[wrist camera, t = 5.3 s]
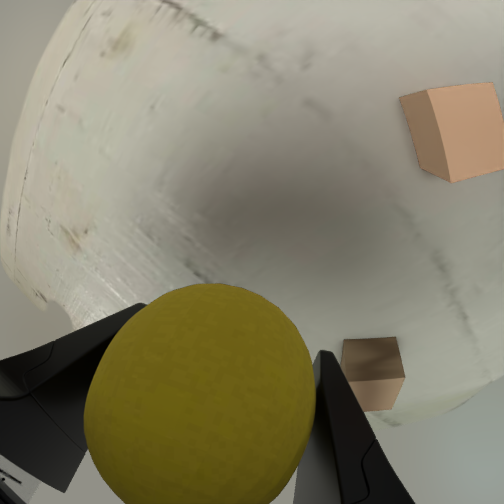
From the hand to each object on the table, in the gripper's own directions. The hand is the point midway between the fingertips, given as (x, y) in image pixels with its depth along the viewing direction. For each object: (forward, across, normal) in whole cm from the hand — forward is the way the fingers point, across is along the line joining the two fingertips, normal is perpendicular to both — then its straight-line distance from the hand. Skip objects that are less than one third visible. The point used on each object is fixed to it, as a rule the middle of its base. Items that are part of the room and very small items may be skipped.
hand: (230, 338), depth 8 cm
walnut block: (+12, -11, +12) cm, 20 cm away
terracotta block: (+13, -10, -9) cm, 18 cm away
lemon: (+2, 0, 0) cm, 2 cm away
